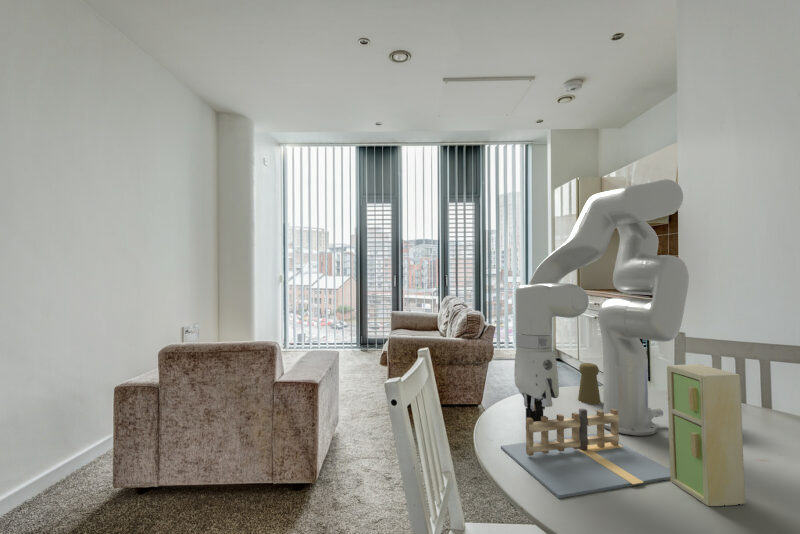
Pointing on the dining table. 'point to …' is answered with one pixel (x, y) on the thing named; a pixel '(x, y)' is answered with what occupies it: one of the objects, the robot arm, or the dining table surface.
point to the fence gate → (549, 425)
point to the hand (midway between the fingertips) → (534, 427)
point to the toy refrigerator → (706, 433)
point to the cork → (589, 384)
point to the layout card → (588, 468)
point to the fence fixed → (598, 428)
